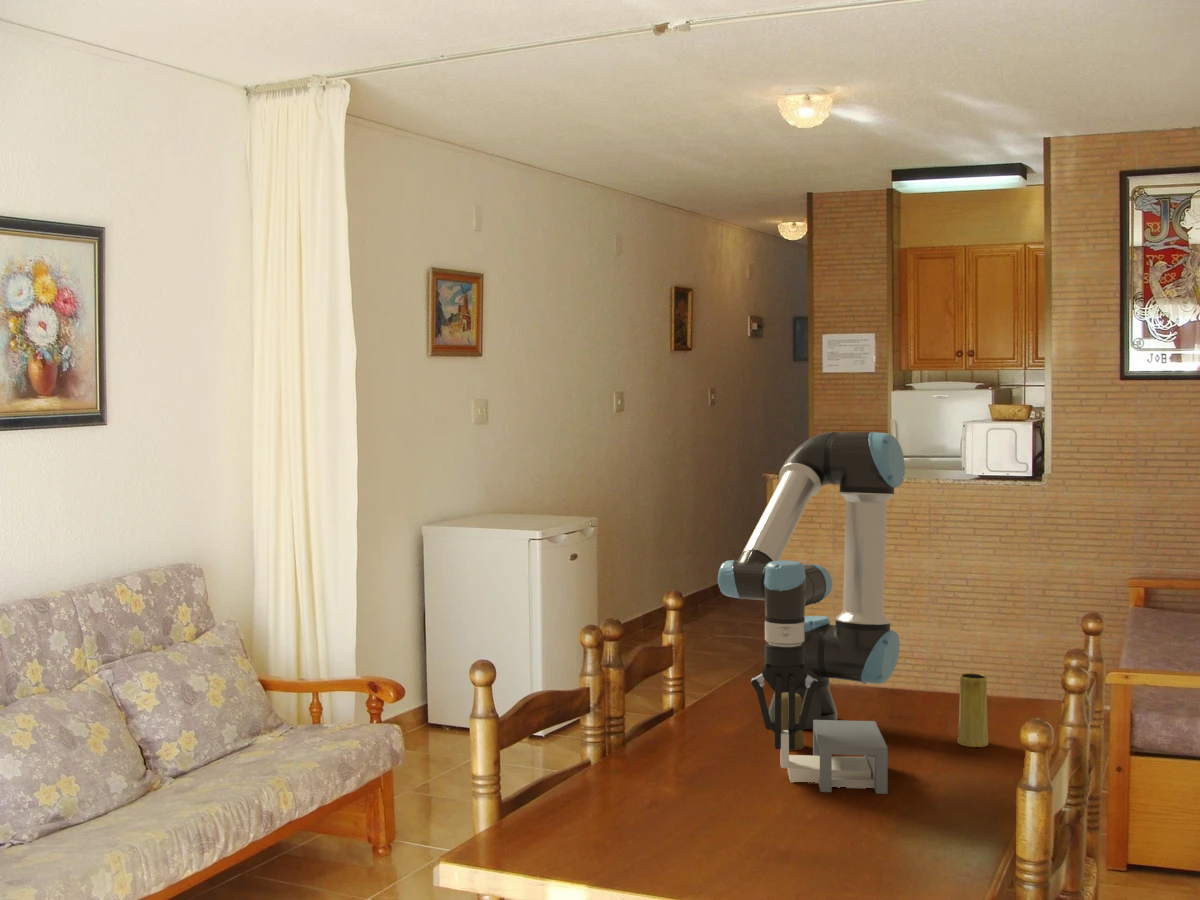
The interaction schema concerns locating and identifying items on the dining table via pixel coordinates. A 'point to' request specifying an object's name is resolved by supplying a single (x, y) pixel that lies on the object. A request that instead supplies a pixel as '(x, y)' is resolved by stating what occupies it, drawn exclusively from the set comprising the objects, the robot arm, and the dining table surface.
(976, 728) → the vase
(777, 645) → the robot arm
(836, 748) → the shelf
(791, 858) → the dining table surface
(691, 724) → the dining table surface
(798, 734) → the cork
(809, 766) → the cover
